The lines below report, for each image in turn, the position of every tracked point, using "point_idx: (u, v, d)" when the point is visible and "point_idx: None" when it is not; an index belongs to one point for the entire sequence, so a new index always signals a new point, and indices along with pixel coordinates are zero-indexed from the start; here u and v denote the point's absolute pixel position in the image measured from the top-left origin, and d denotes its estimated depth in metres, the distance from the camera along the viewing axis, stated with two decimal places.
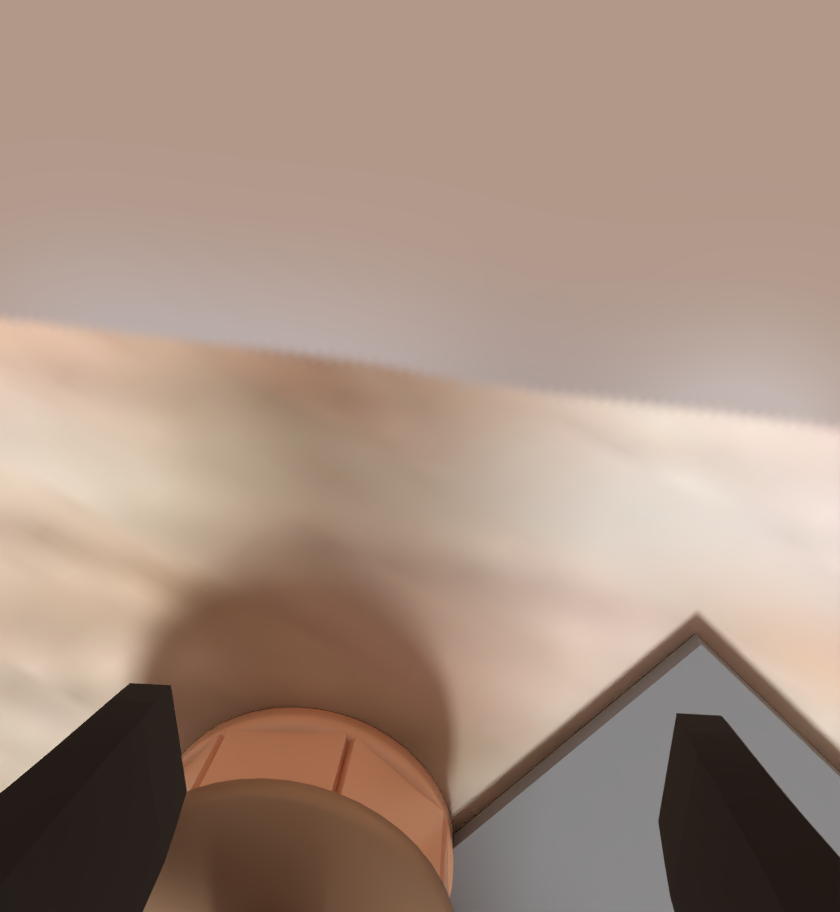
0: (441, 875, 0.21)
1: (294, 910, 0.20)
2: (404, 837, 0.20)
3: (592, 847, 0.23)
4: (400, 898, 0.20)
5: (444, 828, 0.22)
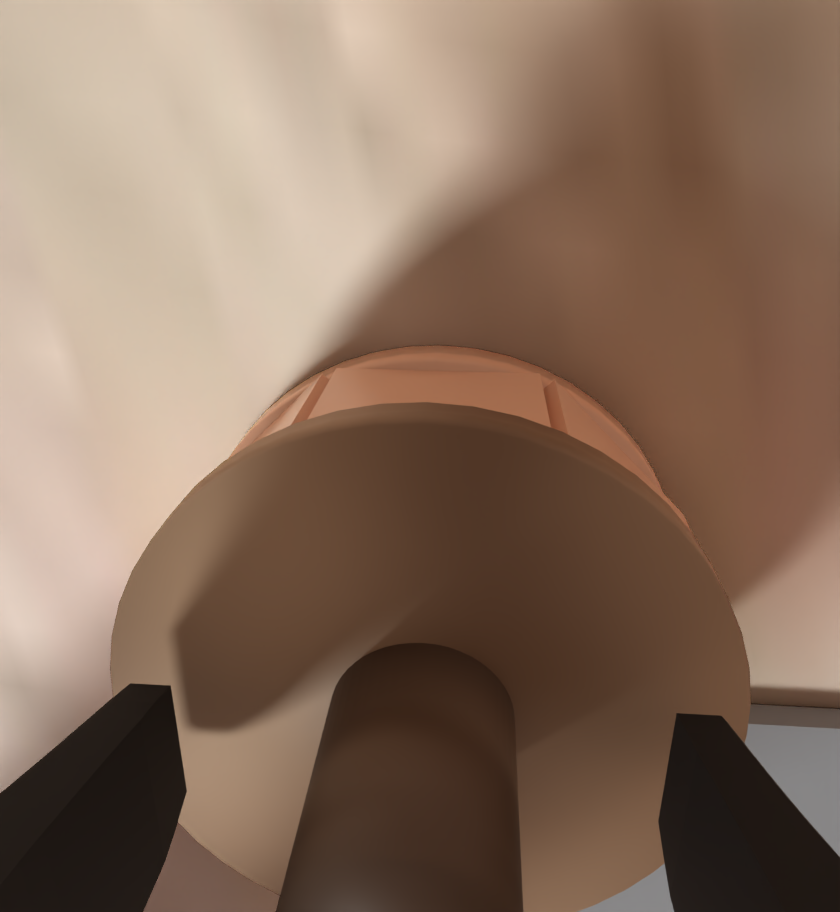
0: None
1: (533, 692, 0.12)
2: None
3: None
4: None
5: None
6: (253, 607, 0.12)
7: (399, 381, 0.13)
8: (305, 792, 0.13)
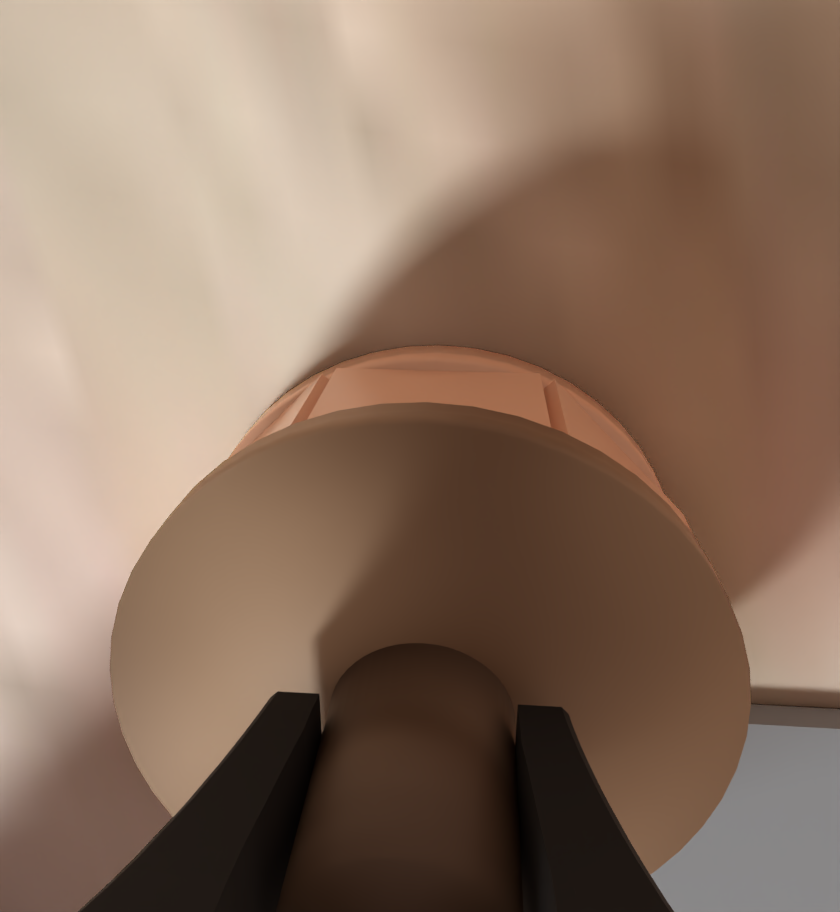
0: None
1: (533, 693, 0.12)
2: None
3: (731, 821, 0.17)
4: (674, 782, 0.12)
5: None
6: (253, 607, 0.12)
7: (399, 381, 0.13)
8: None
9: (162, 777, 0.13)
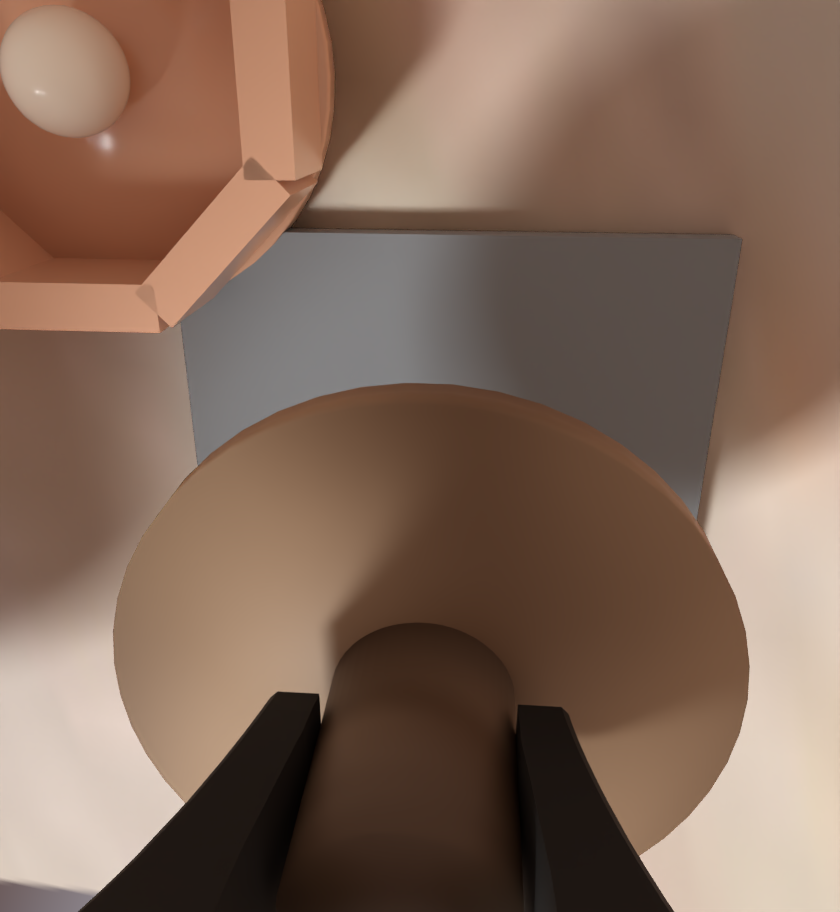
0: (292, 190, 0.14)
1: (530, 666, 0.12)
2: None
3: (424, 359, 0.18)
4: (678, 748, 0.12)
5: (312, 181, 0.16)
6: (248, 596, 0.12)
7: None
8: None
9: (174, 767, 0.13)
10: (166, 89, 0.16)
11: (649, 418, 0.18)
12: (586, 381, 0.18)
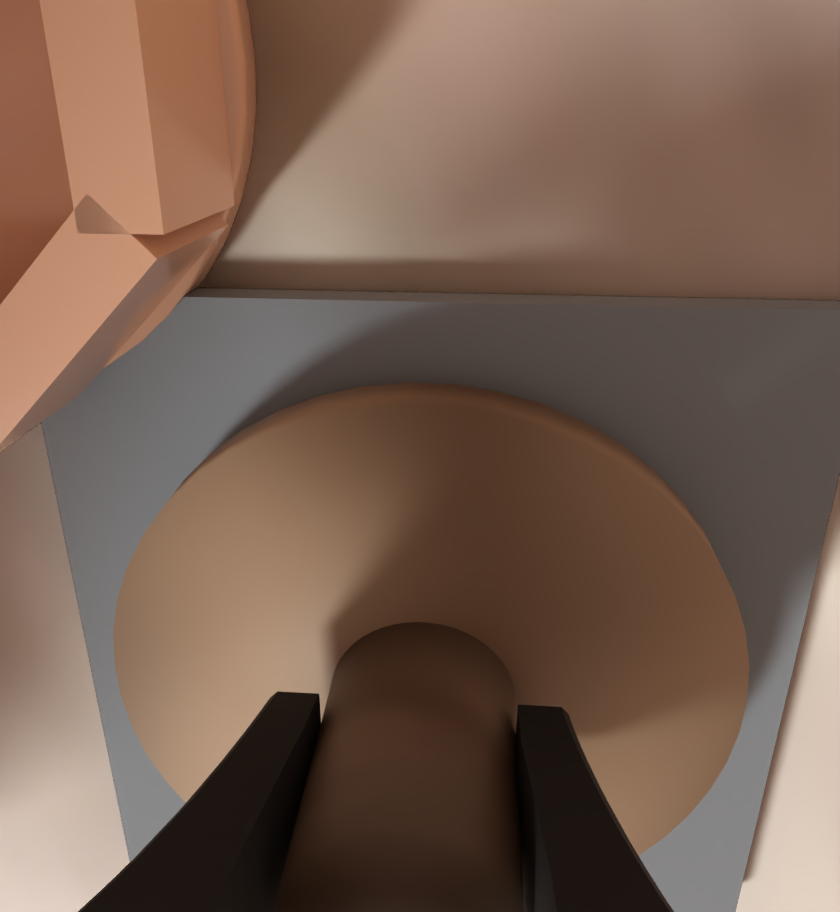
0: (165, 247, 0.09)
1: (530, 665, 0.12)
2: None
3: None
4: (678, 747, 0.12)
5: (215, 224, 0.10)
6: (247, 596, 0.12)
7: None
8: None
9: (174, 766, 0.13)
10: None
11: (724, 561, 0.12)
12: None
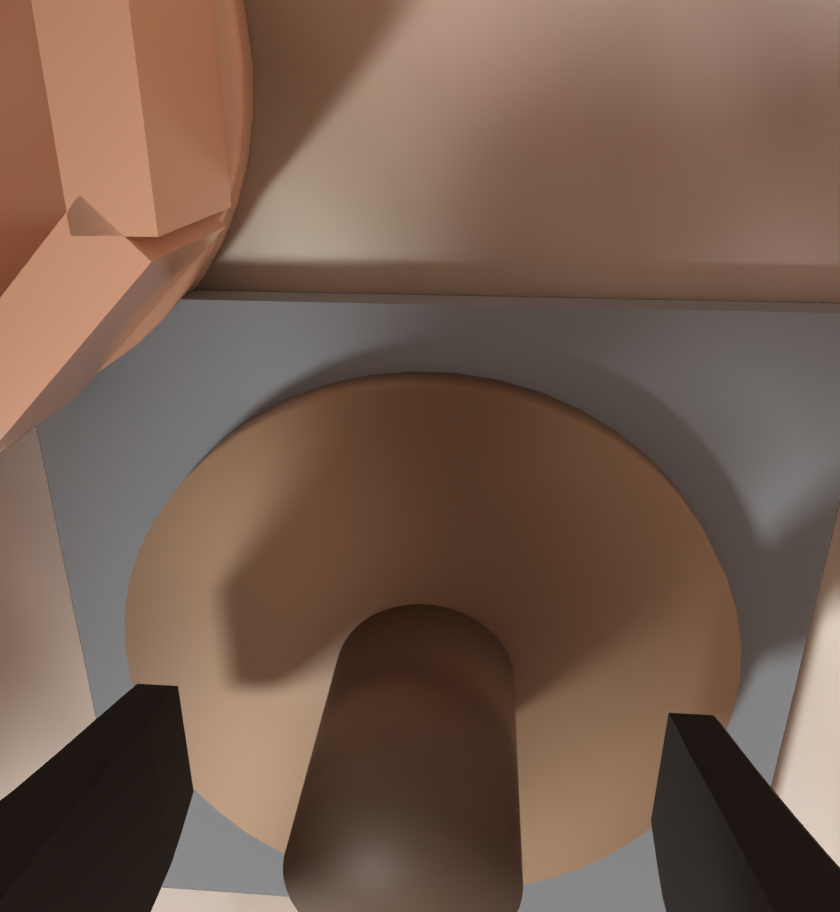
0: (160, 250, 0.08)
1: (529, 647, 0.12)
2: None
3: None
4: None
5: (212, 226, 0.10)
6: (255, 577, 0.12)
7: None
8: None
9: None
10: None
11: (728, 567, 0.12)
12: None
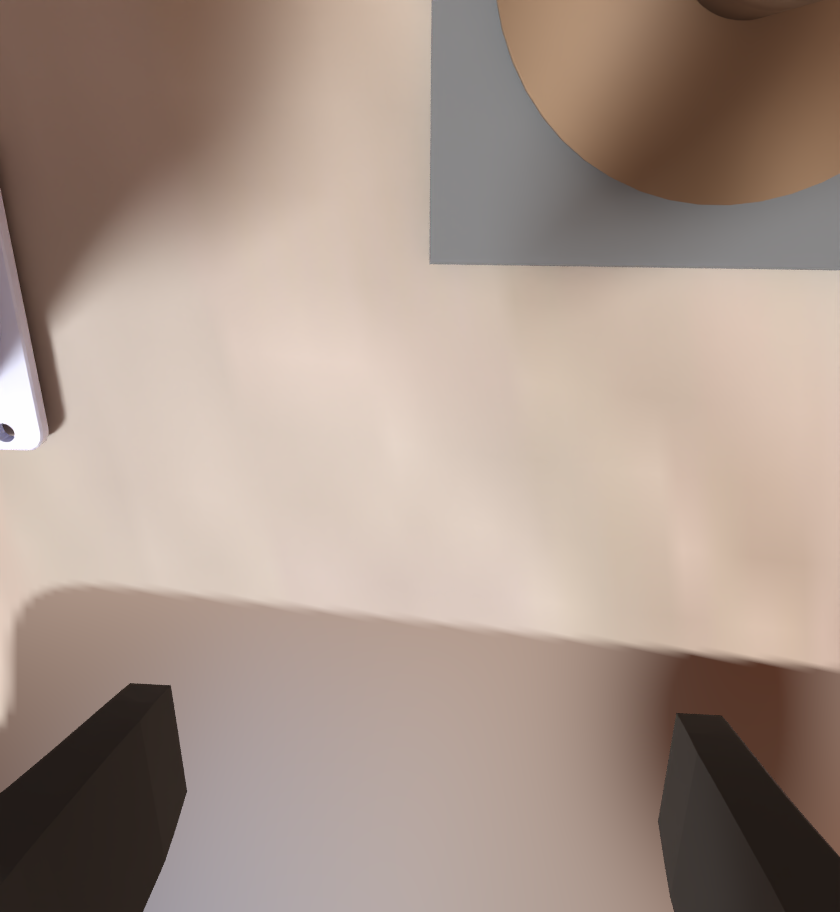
0: None
1: None
2: None
3: None
4: None
5: None
6: None
7: None
8: (646, 41, 0.16)
9: (525, 42, 0.16)
10: None
11: None
12: None
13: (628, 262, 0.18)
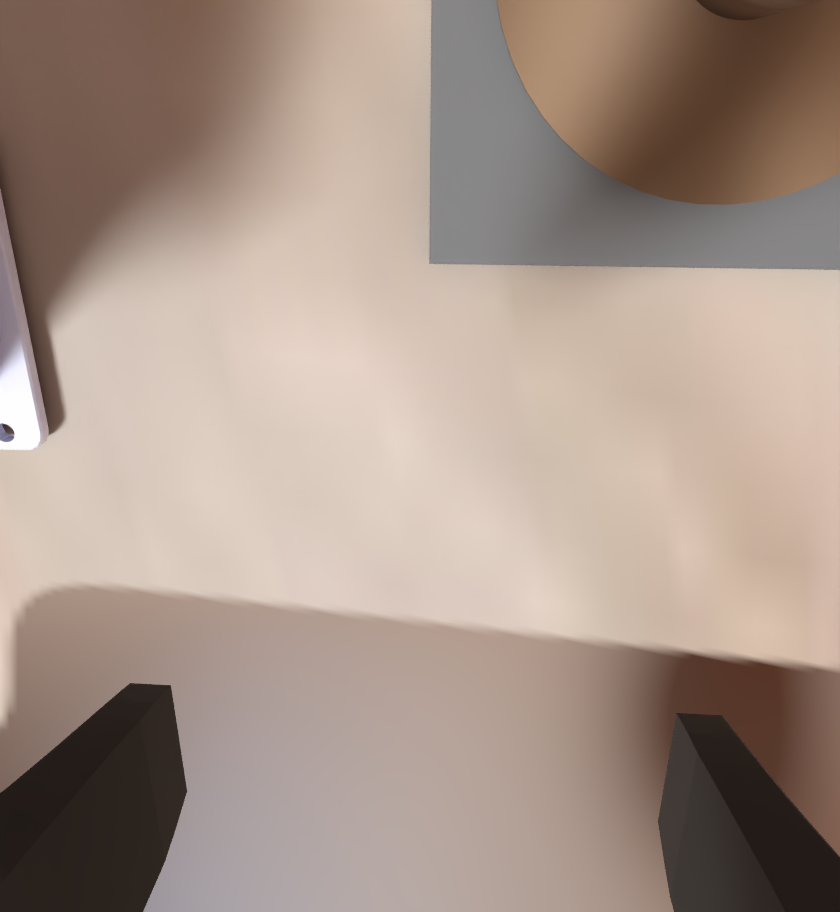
0: None
1: None
2: None
3: None
4: None
5: None
6: None
7: None
8: (646, 40, 0.16)
9: (524, 41, 0.16)
10: None
11: None
12: None
13: (628, 262, 0.18)
